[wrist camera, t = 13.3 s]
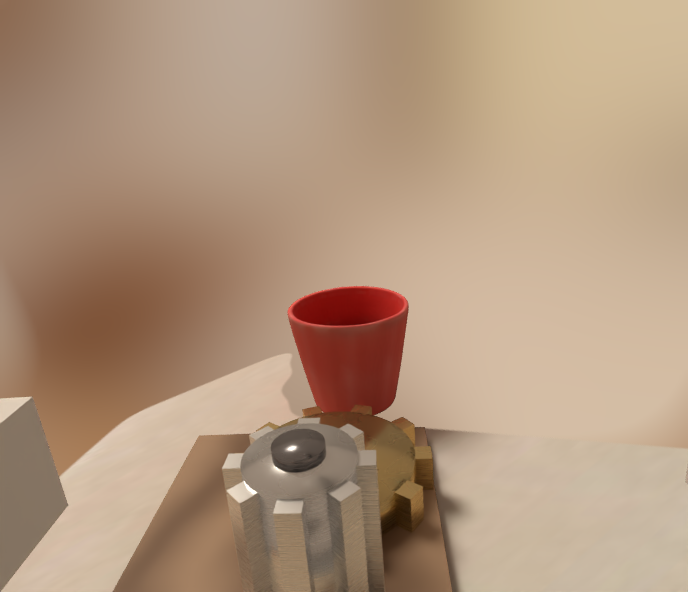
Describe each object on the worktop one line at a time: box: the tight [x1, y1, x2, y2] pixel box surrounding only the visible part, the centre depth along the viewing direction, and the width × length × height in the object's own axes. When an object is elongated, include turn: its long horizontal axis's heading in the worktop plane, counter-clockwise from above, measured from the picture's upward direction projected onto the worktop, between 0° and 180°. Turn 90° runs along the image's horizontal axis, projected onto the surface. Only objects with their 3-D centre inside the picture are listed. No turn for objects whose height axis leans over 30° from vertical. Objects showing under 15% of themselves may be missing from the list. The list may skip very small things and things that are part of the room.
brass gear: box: [235, 405, 434, 535], centre depth 36 cm, size 14×14×4 cm
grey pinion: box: [222, 418, 385, 592], centre depth 25 cm, size 7×7×11 cm
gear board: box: [113, 427, 452, 592], centre depth 33 cm, size 19×22×1 cm
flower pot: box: [288, 286, 408, 415], centre depth 49 cm, size 11×11×10 cm
